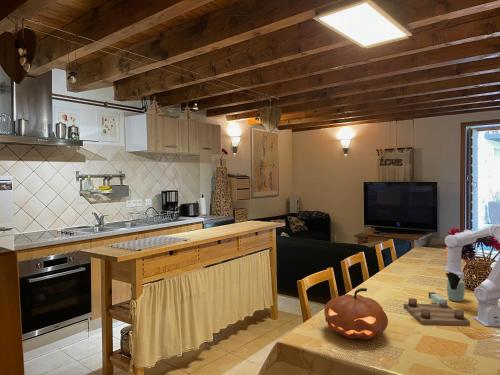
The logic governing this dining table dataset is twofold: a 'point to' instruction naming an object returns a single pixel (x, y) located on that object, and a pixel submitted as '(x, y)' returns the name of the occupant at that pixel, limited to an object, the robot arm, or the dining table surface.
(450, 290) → the cup
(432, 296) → the swing leg
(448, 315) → the stool seat
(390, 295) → the dining table surface
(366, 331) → the pumpkin
